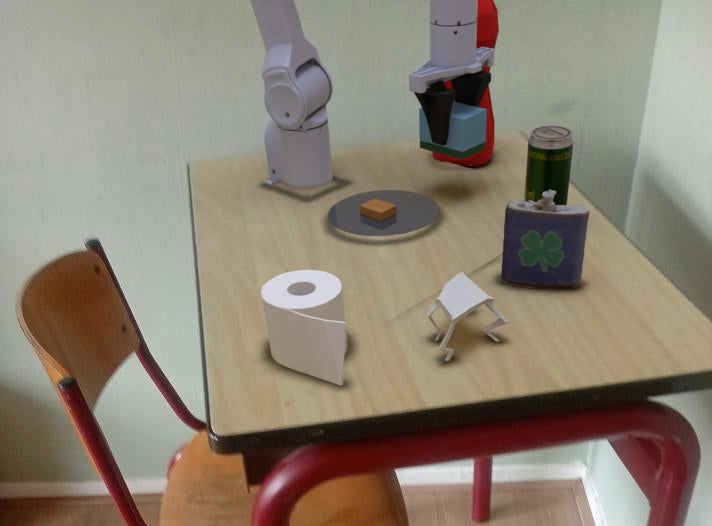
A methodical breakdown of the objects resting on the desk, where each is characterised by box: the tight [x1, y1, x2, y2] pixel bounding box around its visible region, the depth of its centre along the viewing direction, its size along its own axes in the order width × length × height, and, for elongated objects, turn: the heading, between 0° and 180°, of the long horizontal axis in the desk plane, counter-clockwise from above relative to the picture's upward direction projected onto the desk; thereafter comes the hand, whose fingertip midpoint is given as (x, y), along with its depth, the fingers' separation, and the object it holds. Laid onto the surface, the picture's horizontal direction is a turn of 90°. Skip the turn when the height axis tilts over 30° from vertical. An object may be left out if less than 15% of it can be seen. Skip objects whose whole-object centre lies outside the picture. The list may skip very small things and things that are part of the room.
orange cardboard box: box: [360, 198, 397, 221], centre depth 107 cm, size 4×3×1 cm
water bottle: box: [431, 0, 500, 167], centre depth 115 cm, size 9×11×25 cm
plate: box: [327, 189, 440, 237], centre depth 109 cm, size 15×15×1 cm
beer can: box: [523, 125, 574, 206], centre depth 100 cm, size 5×5×12 cm
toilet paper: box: [260, 269, 348, 387], centre depth 83 cm, size 8×11×7 cm
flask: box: [501, 190, 590, 290], centre depth 90 cm, size 9×3×11 cm, turn 74°
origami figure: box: [426, 271, 510, 362], centre depth 85 cm, size 12×8×5 cm
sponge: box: [418, 102, 487, 160], centre depth 106 cm, size 8×5×5 cm, turn 47°
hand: (452, 137), depth 107 cm, fingers closed on sponge, 5 cm apart
